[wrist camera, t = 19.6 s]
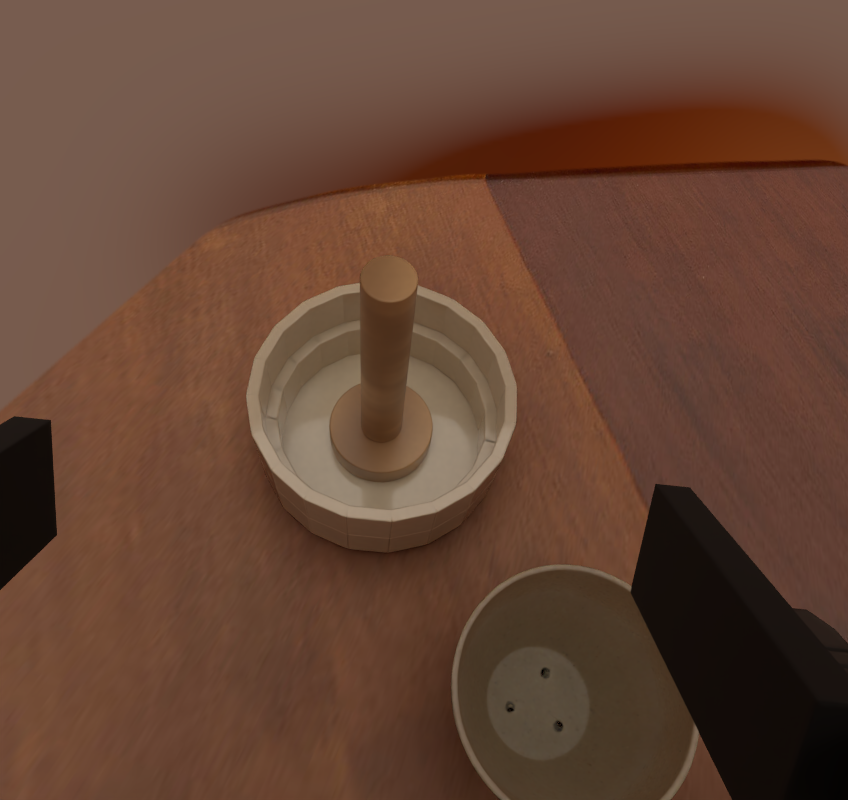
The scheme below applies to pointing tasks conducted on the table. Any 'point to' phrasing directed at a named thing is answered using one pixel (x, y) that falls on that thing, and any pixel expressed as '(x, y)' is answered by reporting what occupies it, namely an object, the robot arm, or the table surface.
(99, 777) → the table surface
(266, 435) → the bowl
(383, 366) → the masher
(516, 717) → the flower pot
